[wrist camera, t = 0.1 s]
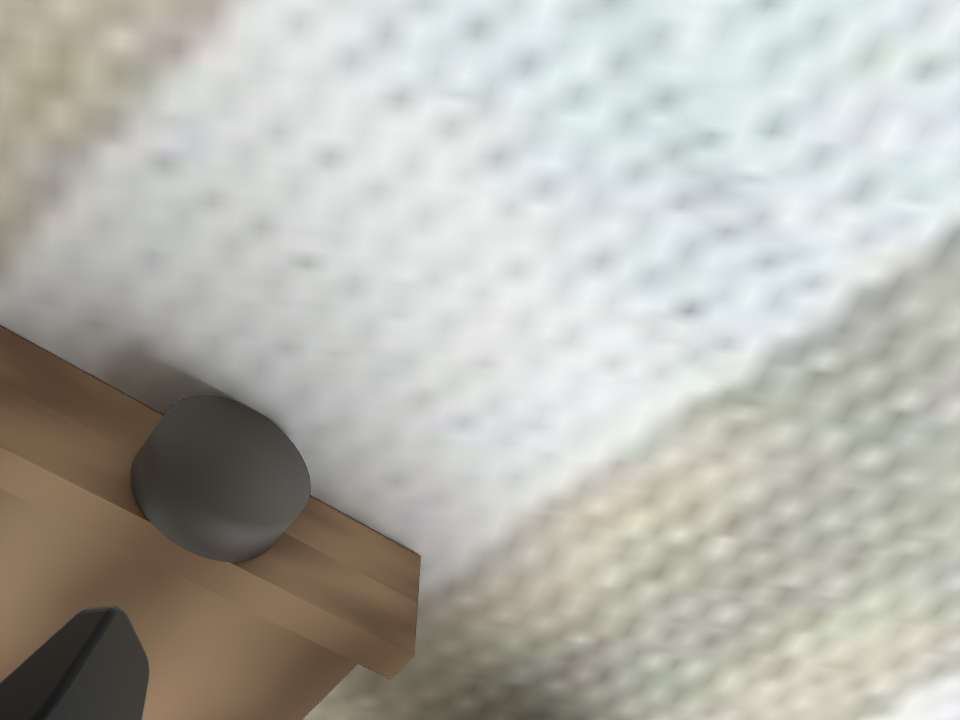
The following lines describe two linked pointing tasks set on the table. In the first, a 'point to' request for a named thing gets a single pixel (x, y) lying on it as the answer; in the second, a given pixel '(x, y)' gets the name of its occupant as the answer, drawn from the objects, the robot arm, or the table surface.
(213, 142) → the table surface
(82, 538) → the trailer
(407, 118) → the table surface
